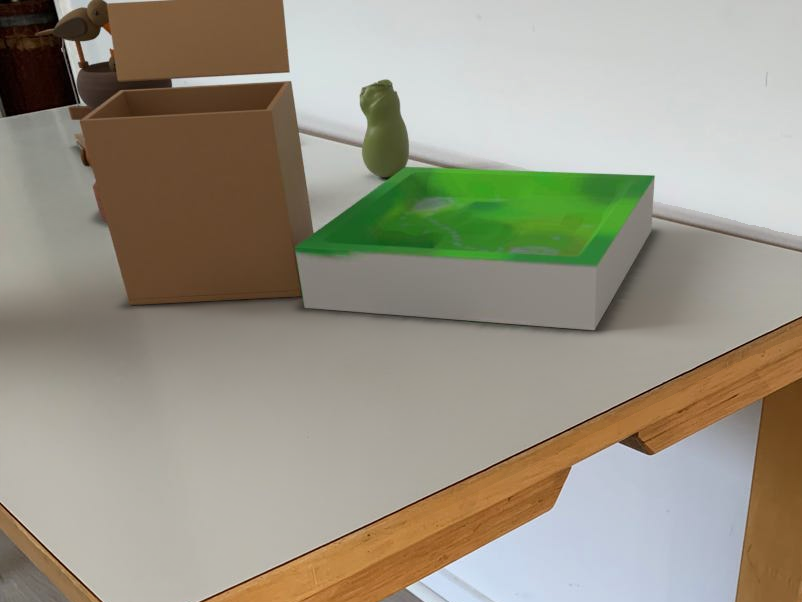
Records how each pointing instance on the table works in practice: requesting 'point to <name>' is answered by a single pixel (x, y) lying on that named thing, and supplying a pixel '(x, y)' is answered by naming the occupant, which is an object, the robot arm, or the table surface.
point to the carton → (202, 190)
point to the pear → (383, 130)
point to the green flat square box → (482, 246)
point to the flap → (198, 38)
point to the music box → (94, 68)
